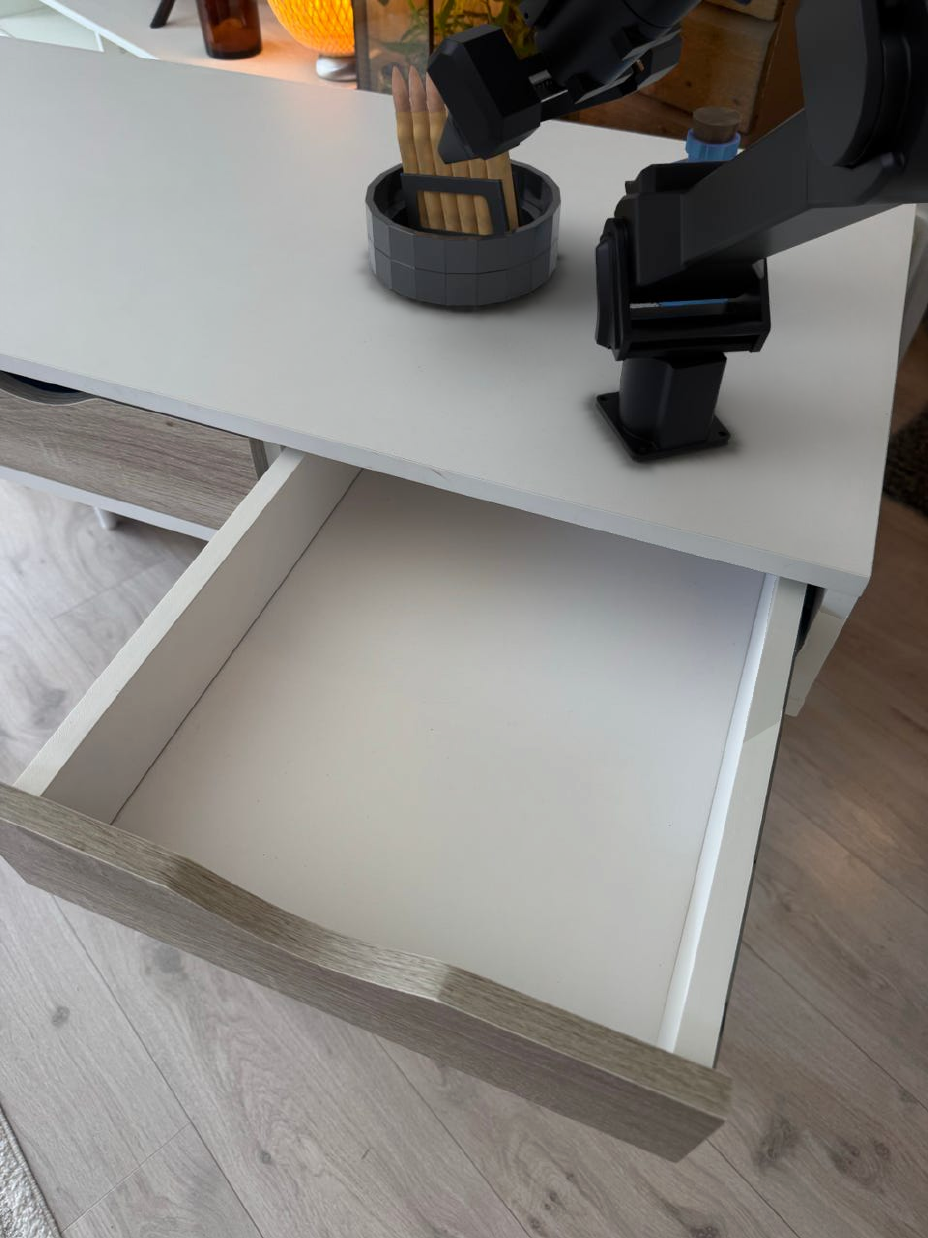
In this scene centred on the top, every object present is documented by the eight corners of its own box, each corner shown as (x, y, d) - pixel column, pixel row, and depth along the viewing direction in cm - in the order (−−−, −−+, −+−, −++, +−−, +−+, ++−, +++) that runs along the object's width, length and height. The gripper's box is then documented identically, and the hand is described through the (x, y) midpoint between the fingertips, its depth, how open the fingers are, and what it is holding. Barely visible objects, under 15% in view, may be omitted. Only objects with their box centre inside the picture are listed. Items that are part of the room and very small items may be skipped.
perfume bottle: (680, 317, 67) (714, 142, 58) (626, 280, 70) (650, 109, 61) (744, 294, 69) (786, 121, 60) (689, 259, 73) (720, 91, 64)
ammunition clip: (528, 246, 68) (504, 58, 60) (511, 255, 67) (485, 65, 60) (427, 233, 74) (395, 62, 67) (411, 241, 74) (376, 69, 66)
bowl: (582, 296, 69) (590, 223, 65) (396, 326, 66) (392, 252, 62) (519, 212, 78) (522, 143, 74) (353, 235, 75) (347, 165, 71)
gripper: (673, -197, 53) (517, -9, 66) (449, -149, 44) (320, 58, 57) (762, -8, 56) (594, 137, 69) (567, 75, 46) (416, 224, 60)
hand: (488, 135), depth 63 cm, fingers open, 9 cm apart
